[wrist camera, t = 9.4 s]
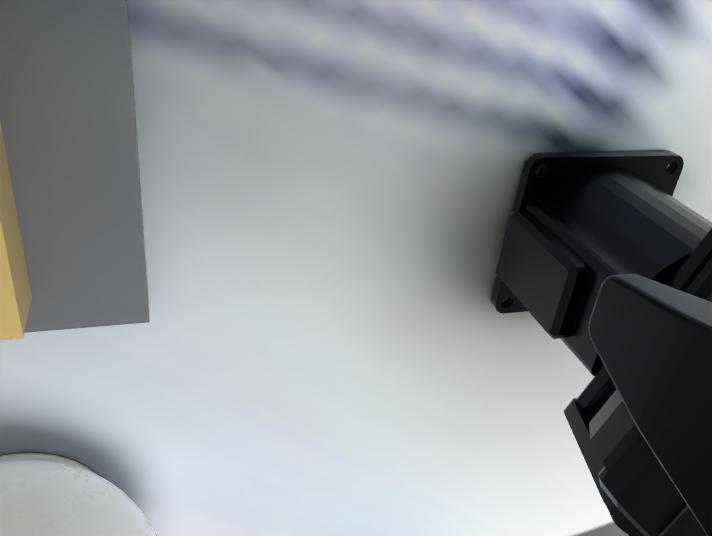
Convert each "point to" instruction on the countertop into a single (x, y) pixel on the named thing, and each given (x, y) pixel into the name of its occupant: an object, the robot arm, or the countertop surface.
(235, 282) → the countertop surface
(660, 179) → the robot arm
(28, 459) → the lidded jar
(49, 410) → the countertop surface
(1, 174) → the multicoloured flat piece
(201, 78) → the countertop surface
